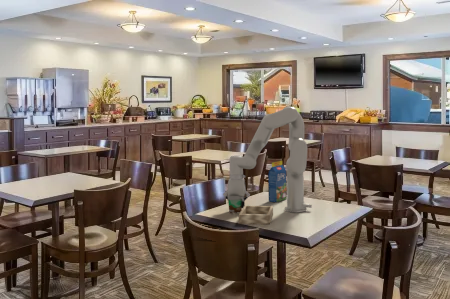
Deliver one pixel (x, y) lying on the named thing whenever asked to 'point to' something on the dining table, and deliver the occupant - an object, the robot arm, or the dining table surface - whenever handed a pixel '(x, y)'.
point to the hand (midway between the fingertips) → (236, 207)
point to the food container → (235, 204)
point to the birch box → (256, 215)
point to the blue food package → (277, 182)
